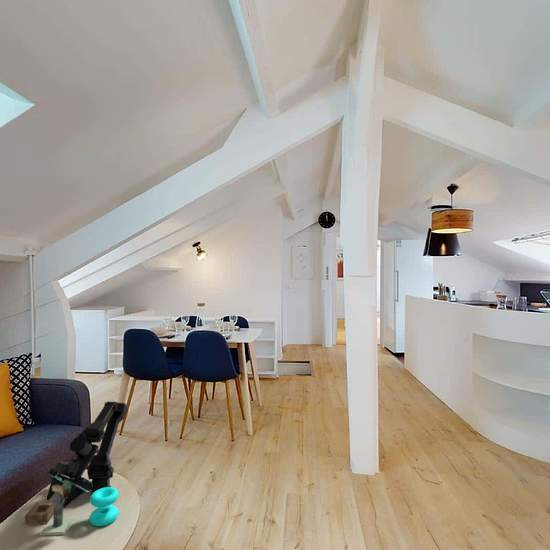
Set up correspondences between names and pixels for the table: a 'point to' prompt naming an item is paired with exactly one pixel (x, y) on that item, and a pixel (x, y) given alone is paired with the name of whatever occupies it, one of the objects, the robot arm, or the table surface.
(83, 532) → the table surface
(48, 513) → the socket block
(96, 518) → the donuts
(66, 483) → the food container
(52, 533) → the mat
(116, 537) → the table surface
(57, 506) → the t key
